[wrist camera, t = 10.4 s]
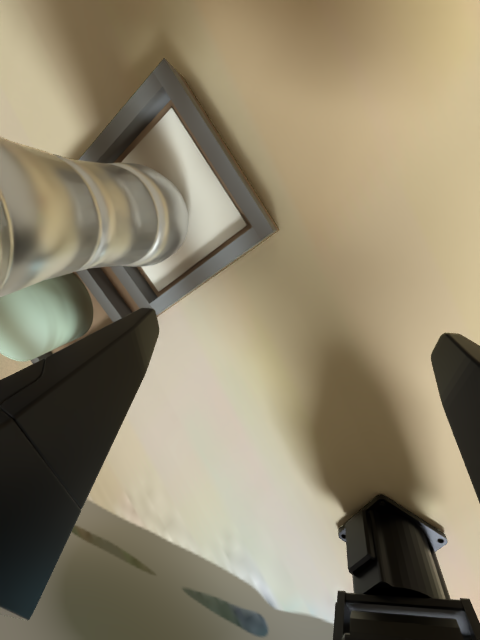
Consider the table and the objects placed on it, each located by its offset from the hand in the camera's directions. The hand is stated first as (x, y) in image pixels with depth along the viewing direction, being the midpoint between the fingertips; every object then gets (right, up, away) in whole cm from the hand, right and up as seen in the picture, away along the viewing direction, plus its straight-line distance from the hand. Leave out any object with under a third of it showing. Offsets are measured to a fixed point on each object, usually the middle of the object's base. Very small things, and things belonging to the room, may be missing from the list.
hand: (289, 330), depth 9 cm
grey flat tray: (-12, +6, +16) cm, 21 cm away
